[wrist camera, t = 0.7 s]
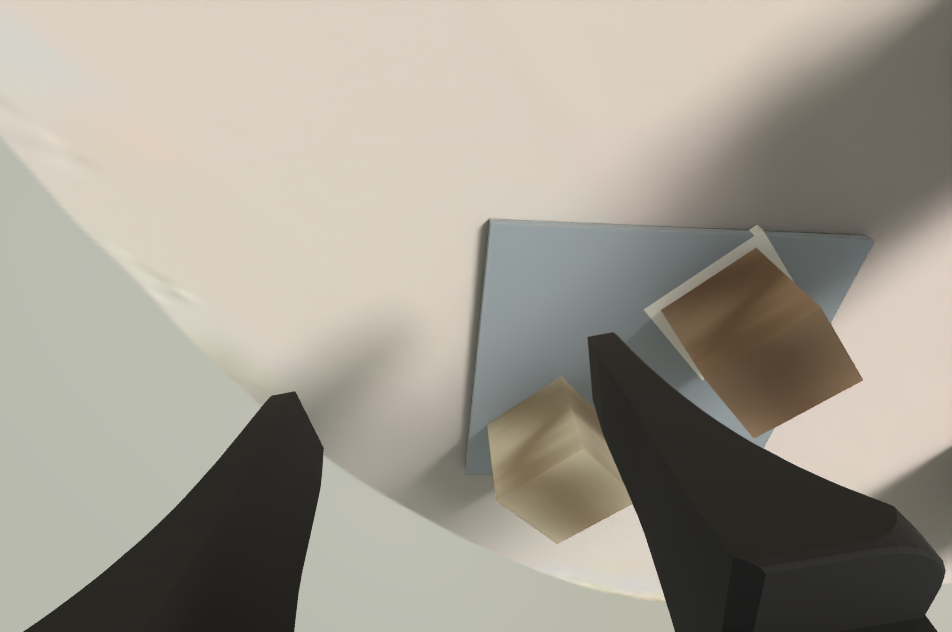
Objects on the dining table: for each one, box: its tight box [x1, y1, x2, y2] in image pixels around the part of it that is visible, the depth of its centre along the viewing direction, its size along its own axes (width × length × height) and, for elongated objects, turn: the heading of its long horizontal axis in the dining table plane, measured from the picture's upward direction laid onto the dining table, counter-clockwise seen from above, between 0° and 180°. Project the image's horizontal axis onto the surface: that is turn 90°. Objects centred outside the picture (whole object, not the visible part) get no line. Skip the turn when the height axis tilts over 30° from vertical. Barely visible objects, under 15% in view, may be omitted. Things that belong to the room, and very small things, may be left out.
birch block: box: [487, 376, 632, 544], centre depth 25 cm, size 4×4×4 cm
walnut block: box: [661, 248, 863, 438], centre depth 22 cm, size 4×4×4 cm
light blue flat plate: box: [465, 219, 874, 474], centre depth 26 cm, size 16×15×1 cm
